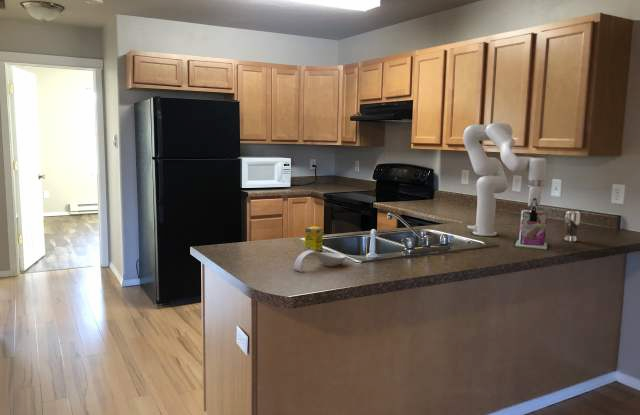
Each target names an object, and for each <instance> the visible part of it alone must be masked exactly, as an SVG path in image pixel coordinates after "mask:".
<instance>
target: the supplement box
mask: <svg viewBox="0 0 640 415" xmlns="http://www.w3.org/2000/svg"><path fill="white" fill-rule="evenodd" d="M323 233H324V228H323V227H320V226H314V225H313V226H309V227H305V228H304V251H307V250H312V251H315V252H320V253H323V247H324V246H323V240H324V234H323Z"/></svg>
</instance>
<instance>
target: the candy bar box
mask: <svg viewBox="0 0 640 415" xmlns="http://www.w3.org/2000/svg"><path fill="white" fill-rule="evenodd" d="M520 212H521V214H520V224H519V233H518V237H519V238H518V240H519V243H520V244H529V245H544V243H545V240H546V229H547V220H548V219H547V218H548V212H547V211H545V210H537V221H536V222H535V221H530V213H531V209H530V210H529V209H521V211H520Z"/></svg>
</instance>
